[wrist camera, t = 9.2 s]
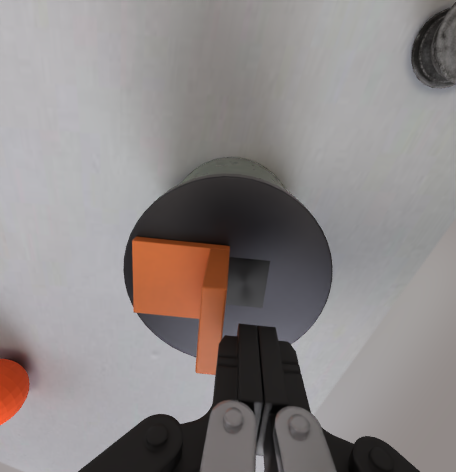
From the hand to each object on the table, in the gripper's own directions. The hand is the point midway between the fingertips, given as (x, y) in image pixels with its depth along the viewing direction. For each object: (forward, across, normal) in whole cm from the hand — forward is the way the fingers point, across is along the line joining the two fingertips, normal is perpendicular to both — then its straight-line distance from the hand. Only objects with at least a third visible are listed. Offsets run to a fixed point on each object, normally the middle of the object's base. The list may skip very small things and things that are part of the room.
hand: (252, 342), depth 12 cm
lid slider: (+5, +4, 0) cm, 6 cm away
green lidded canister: (+17, +1, 0) cm, 17 cm away
